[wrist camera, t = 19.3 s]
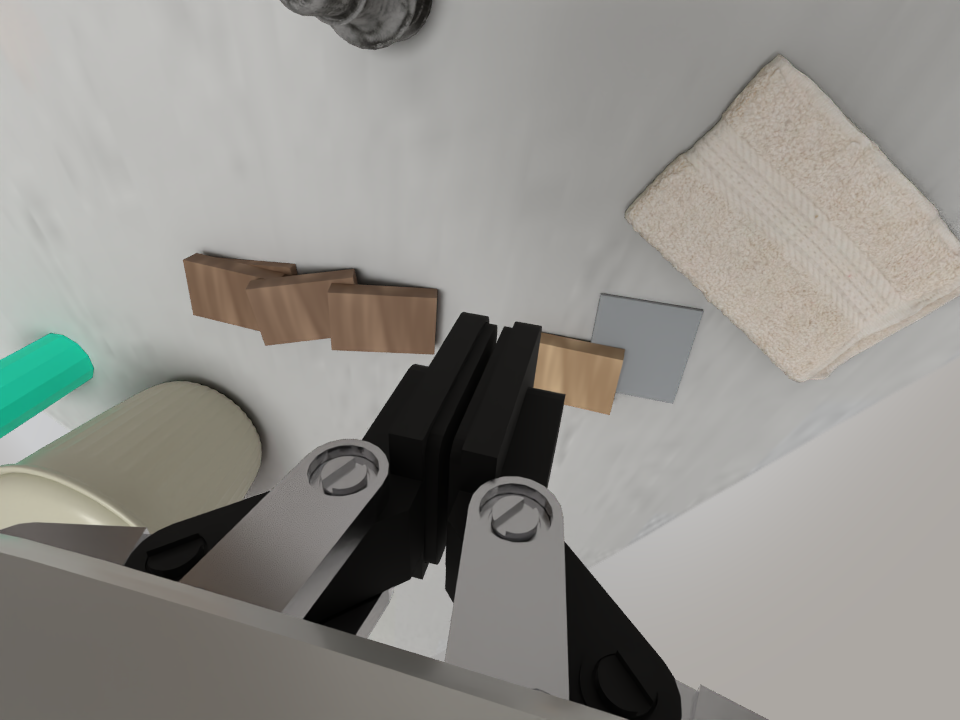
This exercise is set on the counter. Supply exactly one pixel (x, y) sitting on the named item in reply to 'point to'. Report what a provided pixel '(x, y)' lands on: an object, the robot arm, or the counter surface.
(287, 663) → the robot arm
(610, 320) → the pad
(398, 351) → the domino
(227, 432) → the canister
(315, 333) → the domino
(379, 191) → the counter surface
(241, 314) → the domino
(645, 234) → the washcloth
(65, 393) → the candle
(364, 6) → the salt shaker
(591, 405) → the domino
